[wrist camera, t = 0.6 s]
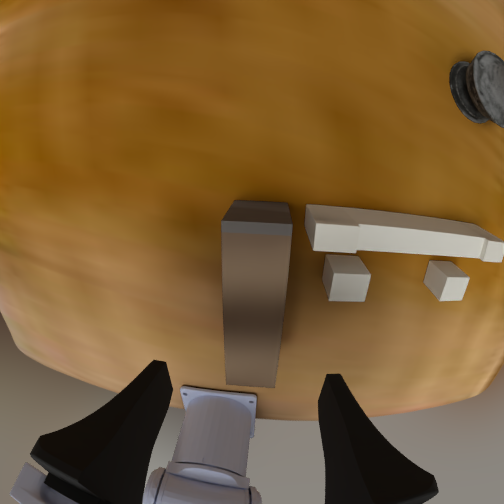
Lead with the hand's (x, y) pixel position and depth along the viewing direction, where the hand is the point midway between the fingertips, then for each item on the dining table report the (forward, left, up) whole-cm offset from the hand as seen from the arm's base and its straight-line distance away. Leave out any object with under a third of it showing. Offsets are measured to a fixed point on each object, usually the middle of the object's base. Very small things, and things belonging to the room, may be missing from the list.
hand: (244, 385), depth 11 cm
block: (0, 0, -10) cm, 10 cm away
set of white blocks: (+3, -11, -10) cm, 15 cm away
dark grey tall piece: (+17, -17, -10) cm, 26 cm away
